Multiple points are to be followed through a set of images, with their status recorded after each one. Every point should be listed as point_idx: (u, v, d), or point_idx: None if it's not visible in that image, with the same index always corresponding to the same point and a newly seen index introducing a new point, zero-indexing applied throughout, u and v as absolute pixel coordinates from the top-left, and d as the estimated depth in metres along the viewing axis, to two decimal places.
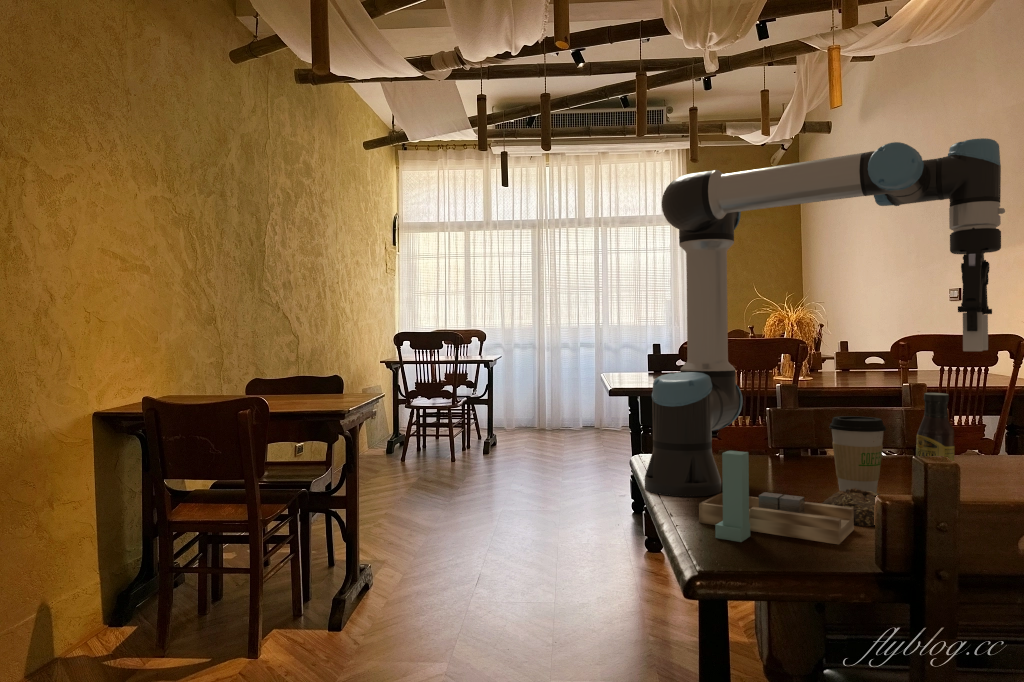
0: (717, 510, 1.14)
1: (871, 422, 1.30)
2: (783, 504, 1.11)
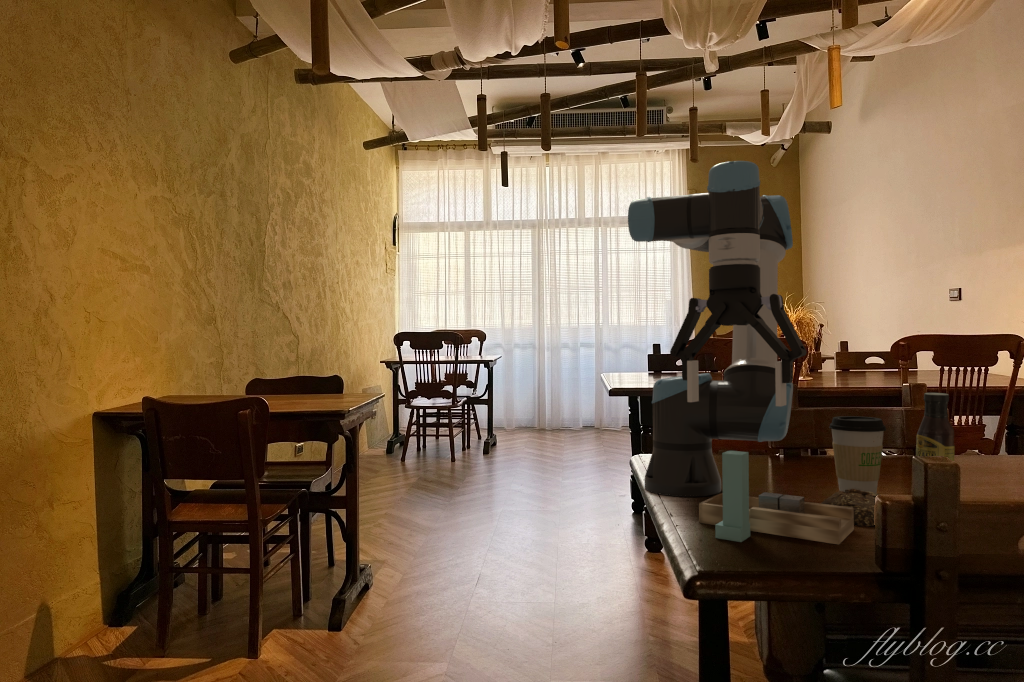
0: (717, 510, 1.14)
1: (871, 422, 1.30)
2: (783, 504, 1.11)
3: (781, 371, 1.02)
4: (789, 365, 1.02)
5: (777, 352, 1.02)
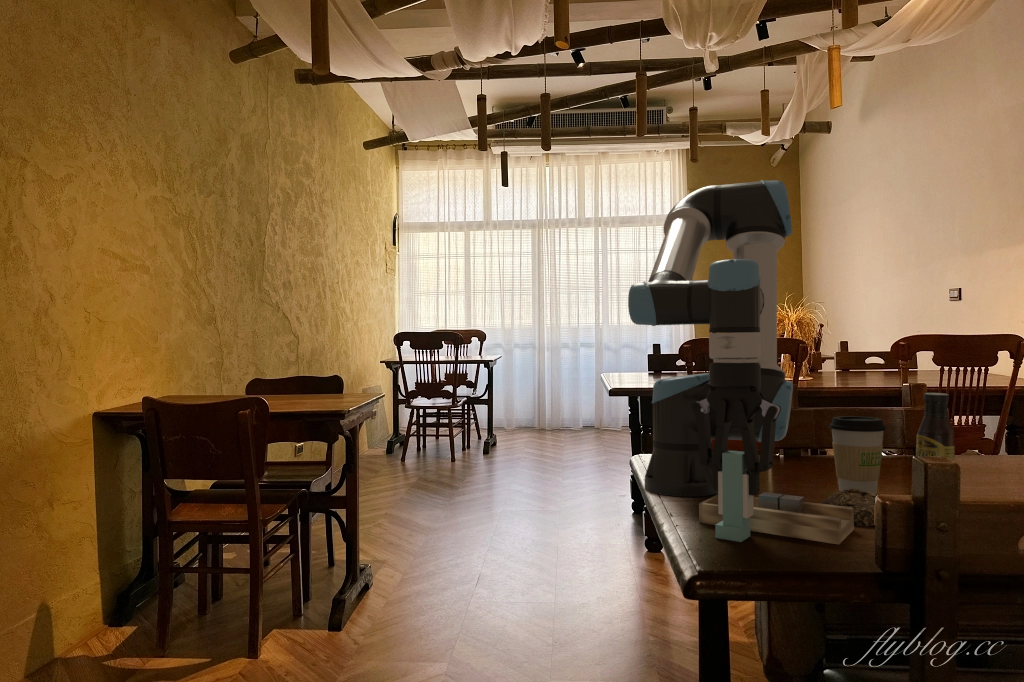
0: (717, 510, 1.14)
1: (871, 422, 1.30)
2: (783, 504, 1.11)
3: (748, 484, 1.05)
4: (755, 478, 1.05)
5: (747, 462, 1.05)
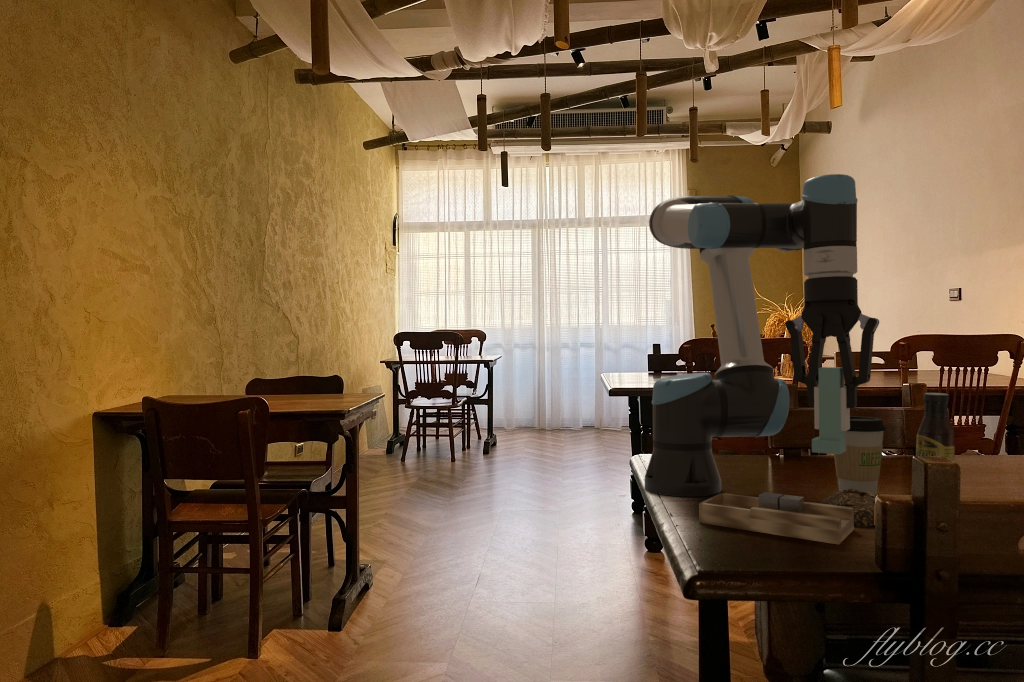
0: (717, 510, 1.14)
1: (871, 422, 1.30)
2: (783, 504, 1.11)
3: (846, 397, 1.06)
4: (854, 391, 1.06)
5: (845, 375, 1.06)
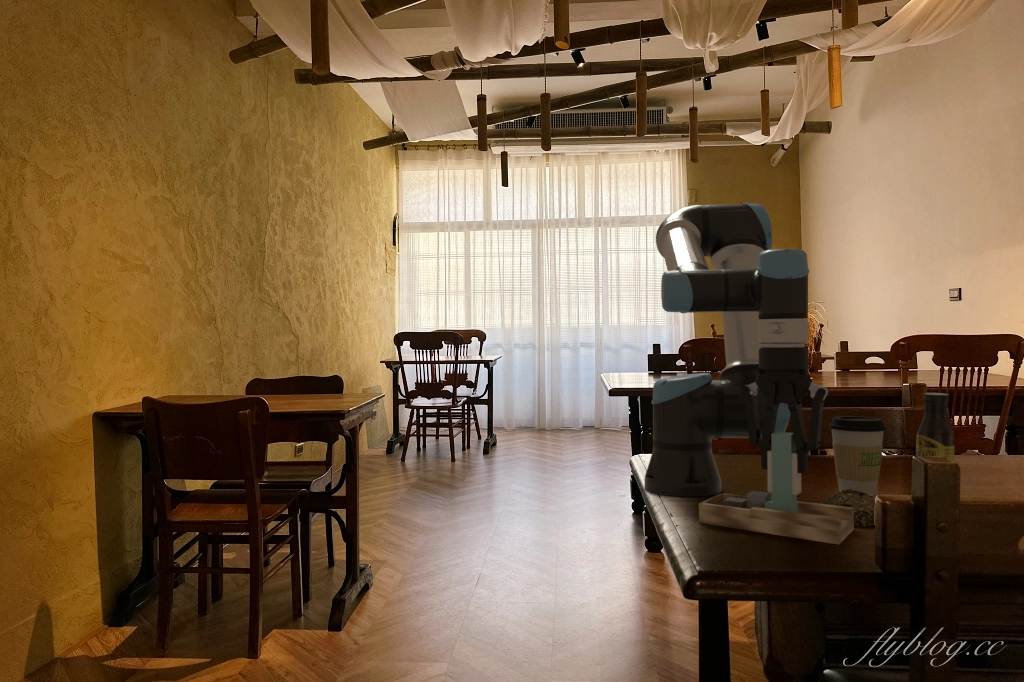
0: (717, 510, 1.14)
1: (871, 422, 1.30)
2: (750, 500, 1.14)
3: (797, 462, 1.11)
4: (804, 457, 1.10)
5: (796, 442, 1.11)
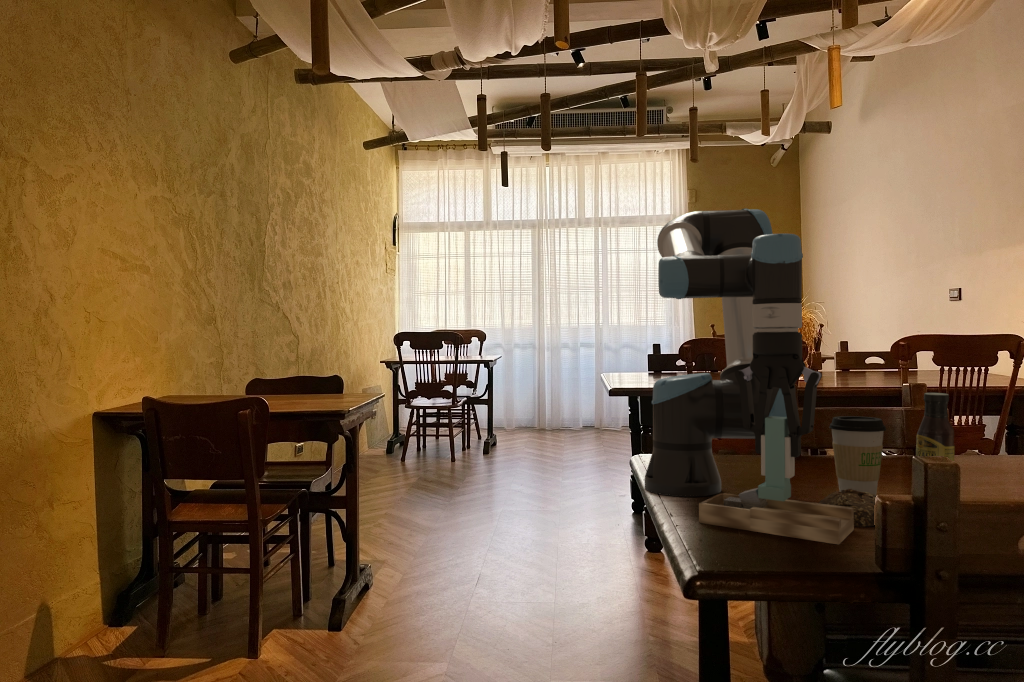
0: (717, 510, 1.14)
1: (871, 422, 1.30)
2: (744, 499, 1.15)
3: (790, 446, 1.11)
4: (797, 441, 1.11)
5: (789, 426, 1.11)
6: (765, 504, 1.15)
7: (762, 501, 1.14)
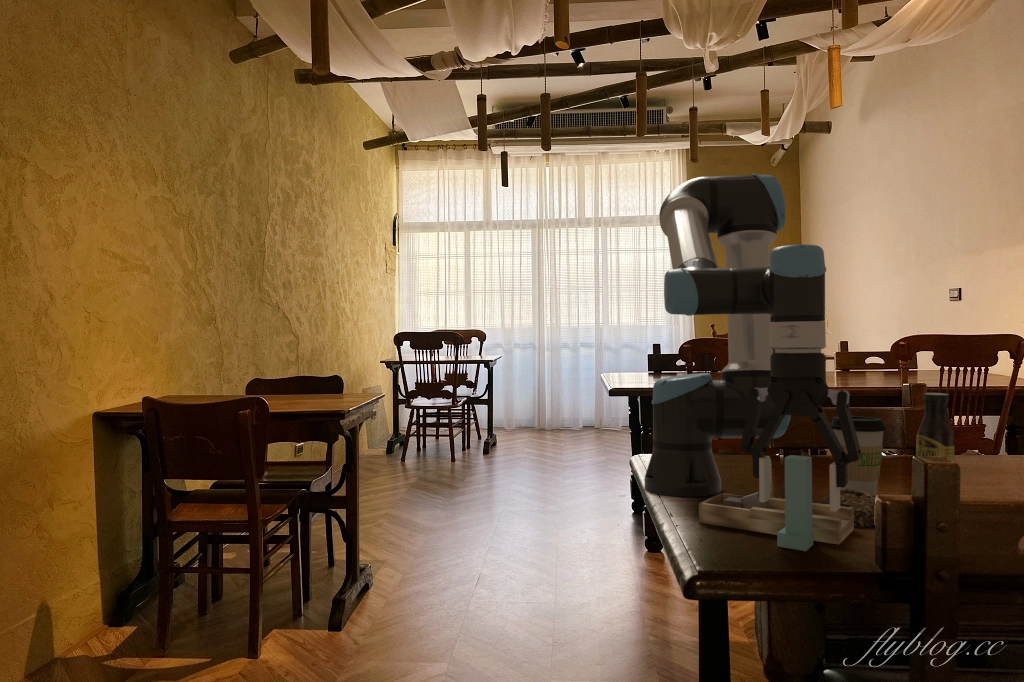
0: (717, 510, 1.14)
1: (871, 422, 1.30)
2: (746, 503, 1.15)
3: (835, 475, 0.99)
4: (844, 469, 0.98)
5: (833, 454, 0.99)
6: (767, 507, 1.15)
7: (764, 504, 1.14)
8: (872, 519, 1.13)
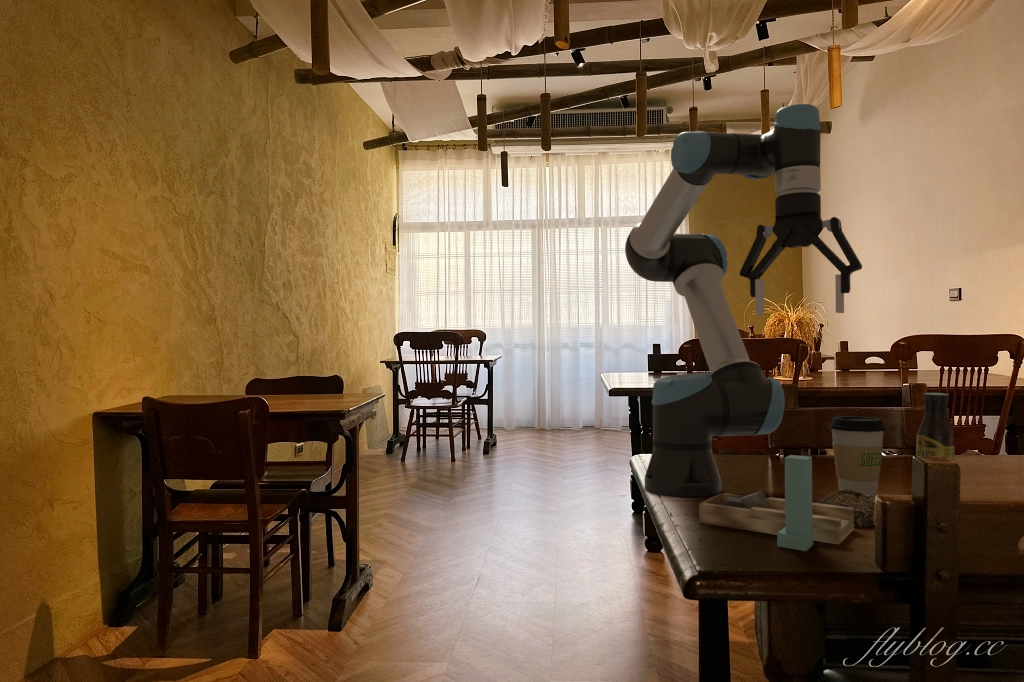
0: (717, 510, 1.14)
1: (871, 422, 1.30)
2: (746, 503, 1.15)
3: (840, 282, 1.19)
4: (847, 277, 1.19)
5: (837, 266, 1.20)
6: (767, 507, 1.15)
7: (764, 504, 1.14)
8: (871, 519, 1.12)
